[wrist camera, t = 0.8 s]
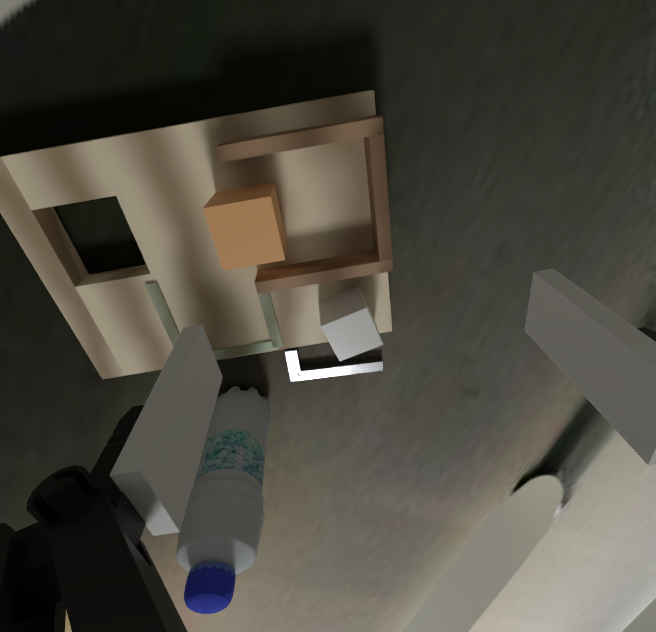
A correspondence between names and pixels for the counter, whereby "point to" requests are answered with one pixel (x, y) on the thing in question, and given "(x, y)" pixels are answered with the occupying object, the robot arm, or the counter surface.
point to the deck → (195, 233)
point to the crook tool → (329, 367)
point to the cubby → (378, 197)
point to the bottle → (225, 501)
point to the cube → (247, 226)
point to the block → (349, 324)
